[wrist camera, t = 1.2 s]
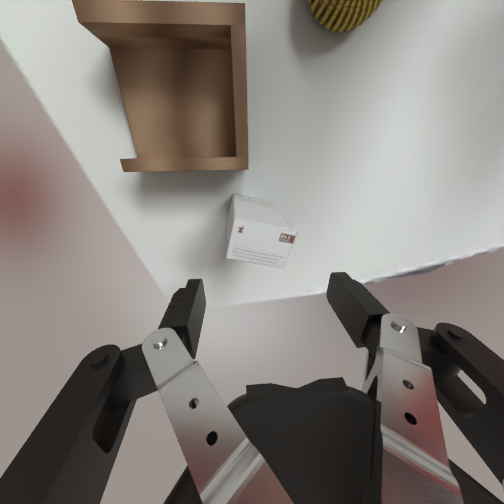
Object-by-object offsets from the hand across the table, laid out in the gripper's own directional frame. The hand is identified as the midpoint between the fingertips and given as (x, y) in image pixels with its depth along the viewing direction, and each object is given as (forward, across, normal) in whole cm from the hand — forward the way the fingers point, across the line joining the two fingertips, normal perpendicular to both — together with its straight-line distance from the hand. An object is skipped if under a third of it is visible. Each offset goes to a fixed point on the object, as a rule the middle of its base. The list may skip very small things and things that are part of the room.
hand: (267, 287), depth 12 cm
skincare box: (+18, 0, 0) cm, 18 cm away
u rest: (+18, +7, -12) cm, 23 cm away
